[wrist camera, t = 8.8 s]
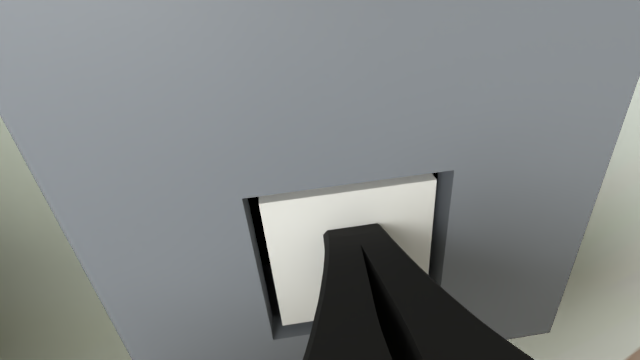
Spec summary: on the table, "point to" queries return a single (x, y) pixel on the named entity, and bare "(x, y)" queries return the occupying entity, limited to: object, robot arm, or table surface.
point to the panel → (312, 144)
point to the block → (334, 213)
